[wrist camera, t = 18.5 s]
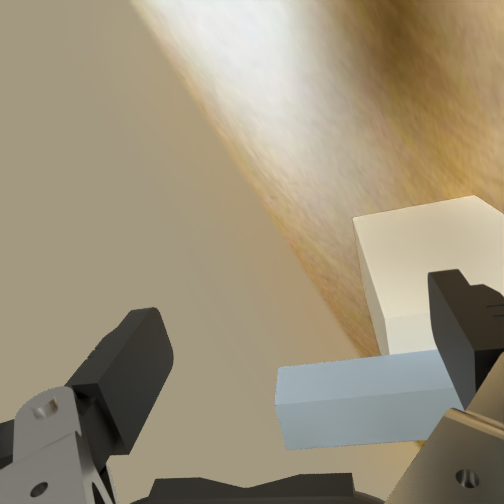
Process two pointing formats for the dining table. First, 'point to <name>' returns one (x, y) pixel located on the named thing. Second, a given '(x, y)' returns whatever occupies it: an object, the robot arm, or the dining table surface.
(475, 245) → the pedestal
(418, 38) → the dining table surface
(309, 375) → the bar
